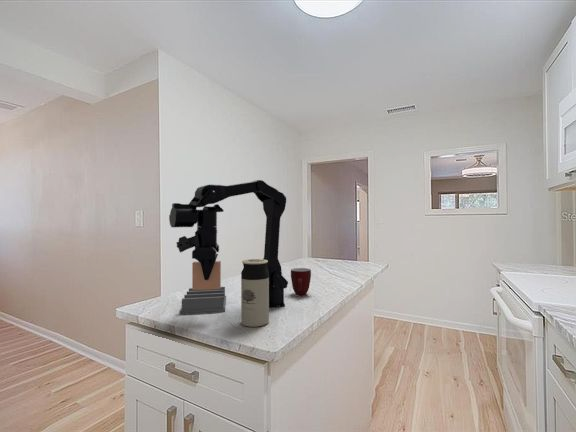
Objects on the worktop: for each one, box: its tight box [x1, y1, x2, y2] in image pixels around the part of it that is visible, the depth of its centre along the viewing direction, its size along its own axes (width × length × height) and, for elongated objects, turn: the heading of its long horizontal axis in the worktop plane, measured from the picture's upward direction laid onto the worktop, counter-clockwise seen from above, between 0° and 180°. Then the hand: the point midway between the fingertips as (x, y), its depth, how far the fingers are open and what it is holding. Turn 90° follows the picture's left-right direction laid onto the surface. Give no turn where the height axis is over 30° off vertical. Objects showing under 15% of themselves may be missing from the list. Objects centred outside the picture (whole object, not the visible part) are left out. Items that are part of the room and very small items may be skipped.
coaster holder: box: [179, 286, 227, 315], centre depth 101 cm, size 14×16×5 cm
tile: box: [191, 260, 222, 290], centre depth 87 cm, size 8×2×8 cm, turn 101°
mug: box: [290, 267, 312, 297], centre depth 114 cm, size 11×8×10 cm
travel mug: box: [240, 258, 270, 328], centre depth 84 cm, size 8×8×18 cm
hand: (206, 279), depth 87 cm, fingers closed on tile, 2 cm apart
